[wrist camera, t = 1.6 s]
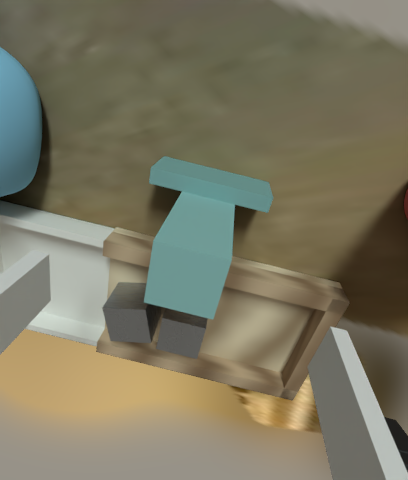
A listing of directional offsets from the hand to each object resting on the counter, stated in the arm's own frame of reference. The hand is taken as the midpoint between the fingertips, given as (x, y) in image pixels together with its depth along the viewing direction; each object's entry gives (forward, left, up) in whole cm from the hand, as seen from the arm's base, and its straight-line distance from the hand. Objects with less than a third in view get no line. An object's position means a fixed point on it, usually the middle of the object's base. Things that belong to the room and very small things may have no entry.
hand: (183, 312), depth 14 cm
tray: (-15, -11, -14) cm, 23 cm away
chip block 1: (-5, -11, -13) cm, 18 cm away
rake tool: (0, 0, -14) cm, 14 cm away
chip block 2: (0, -11, -13) cm, 17 cm away
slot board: (+3, -11, -14) cm, 18 cm away
